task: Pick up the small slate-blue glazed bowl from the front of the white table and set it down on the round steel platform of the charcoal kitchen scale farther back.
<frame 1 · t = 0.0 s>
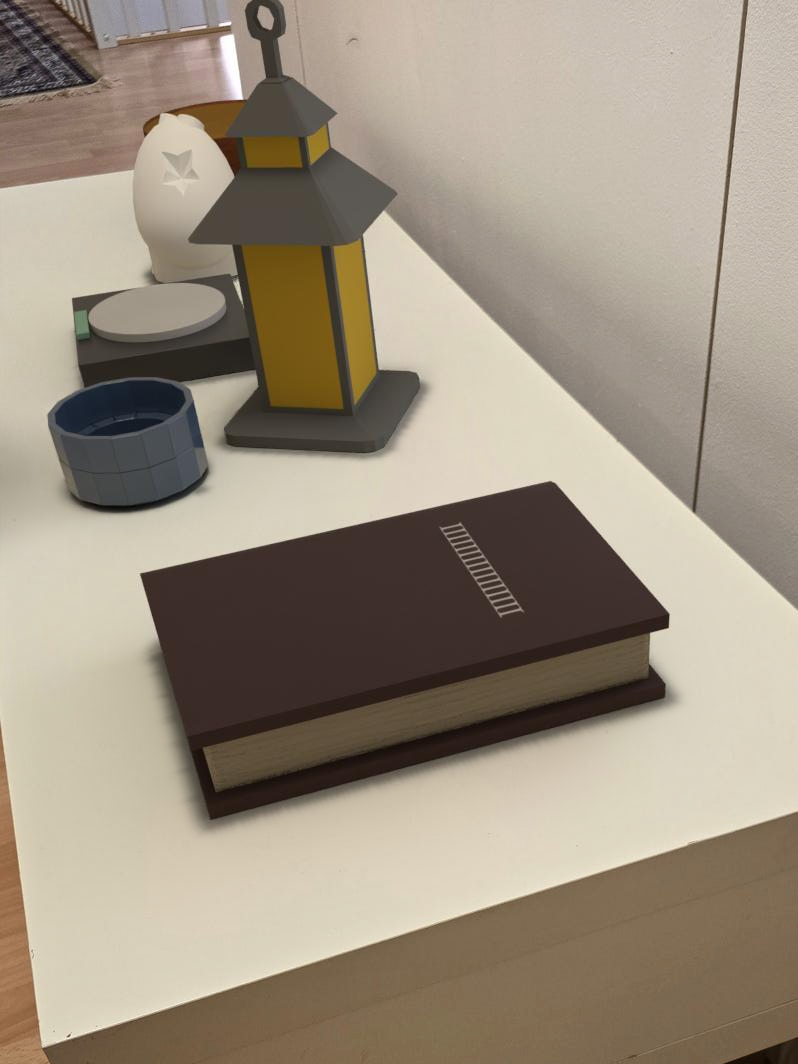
book: (399, 669, 78), on the table
lantern: (325, 414, 106), on the table
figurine: (202, 276, 134), on the table
glazed bowl: (139, 478, 99), on the table
scale: (166, 347, 119), on the table
bowl: (235, 213, 150), on the table
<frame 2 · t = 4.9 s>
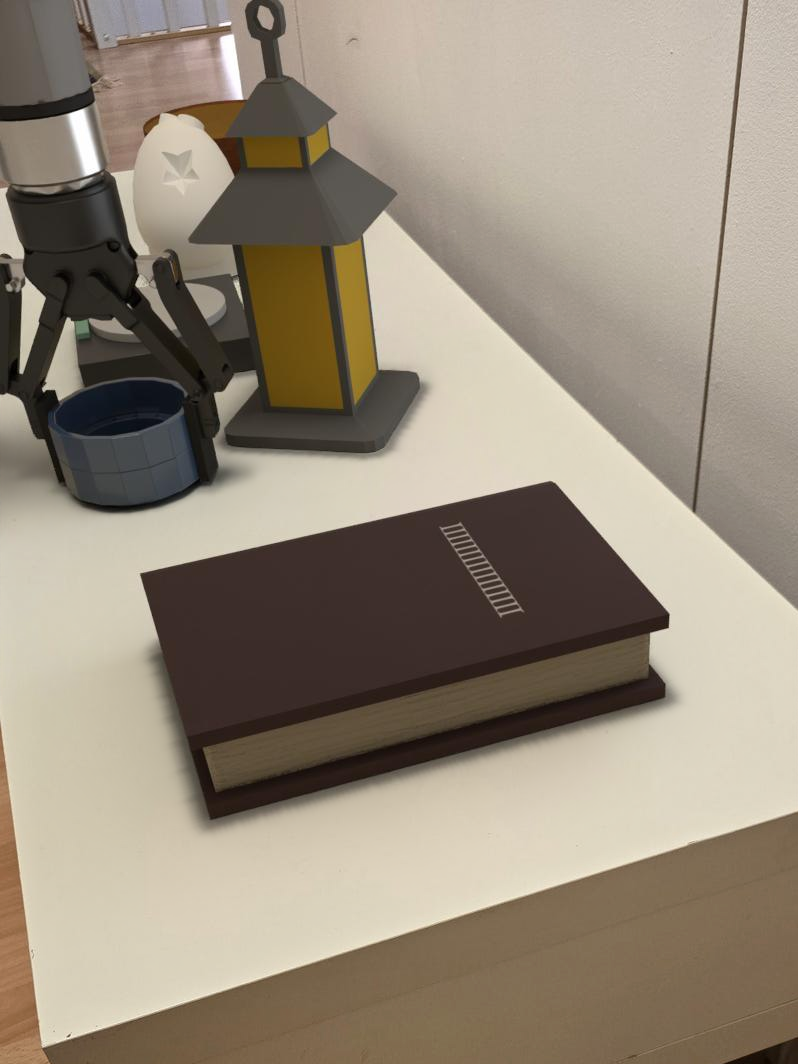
hand: (138, 474, 99), 0 cm above the table, tool pointing down, fingers closed on glazed bowl, 11 cm apart
glazed bowl: (139, 478, 99), on the table, touching gripper
everything else where it was.
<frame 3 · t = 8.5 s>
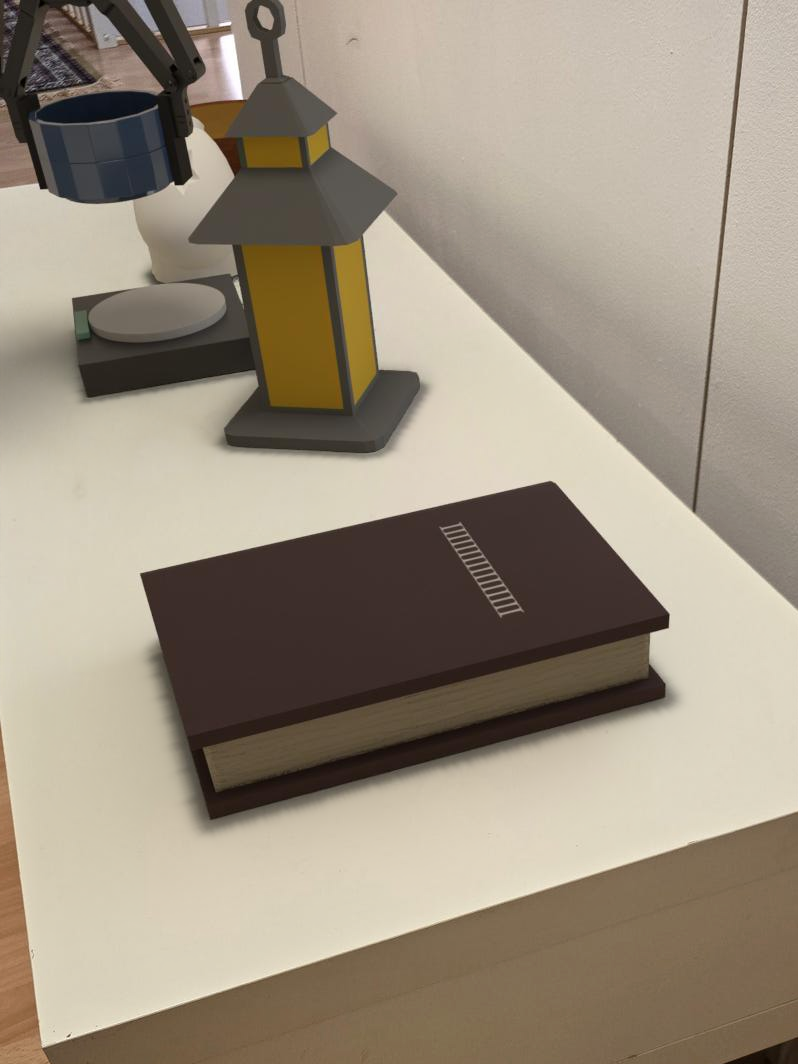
hand: (116, 182, 104), 16 cm above the table, tool pointing down, fingers closed on glazed bowl, 11 cm apart
glazed bowl: (117, 187, 104), point 16 cm above the table, touching gripper
everything else where it was.
when the fingers open (4 cm above the table, at t = 12.4 s): glazed bowl stays where it is, resting on scale.
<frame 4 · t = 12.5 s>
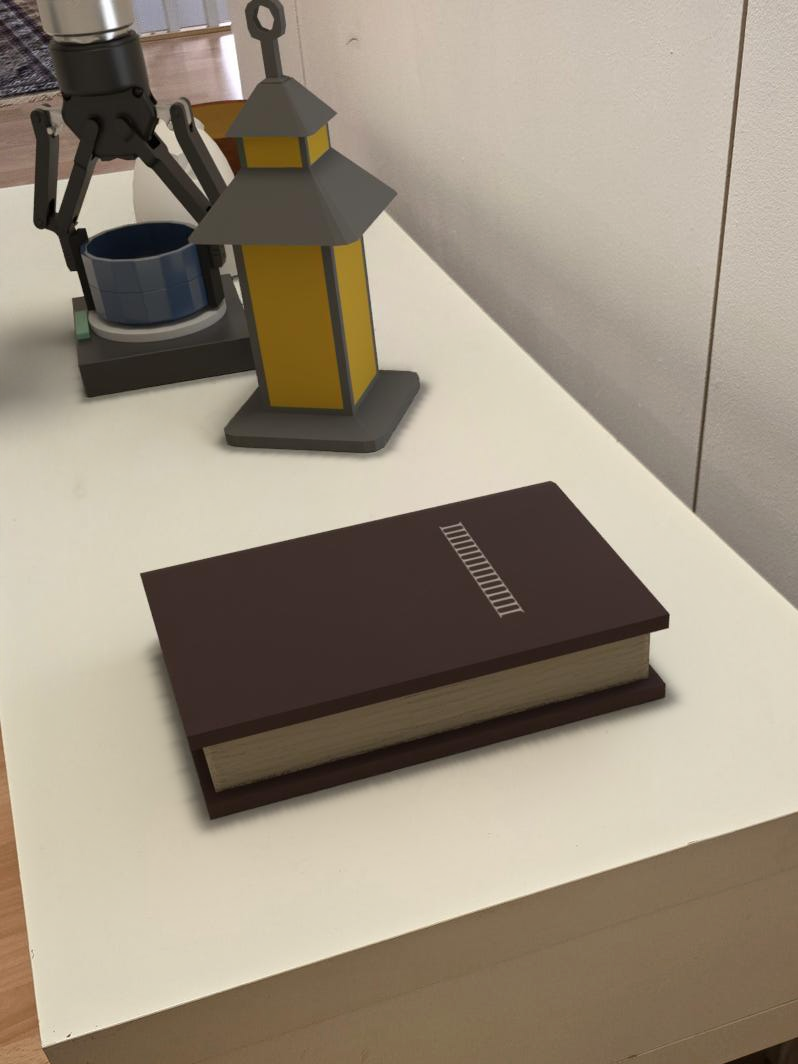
hand: (156, 304, 116), 4 cm above the table, tool pointing down, fingers open, 11 cm apart
glazed bowl: (157, 307, 116), point 4 cm above the table, touching scale
everything else where it was.
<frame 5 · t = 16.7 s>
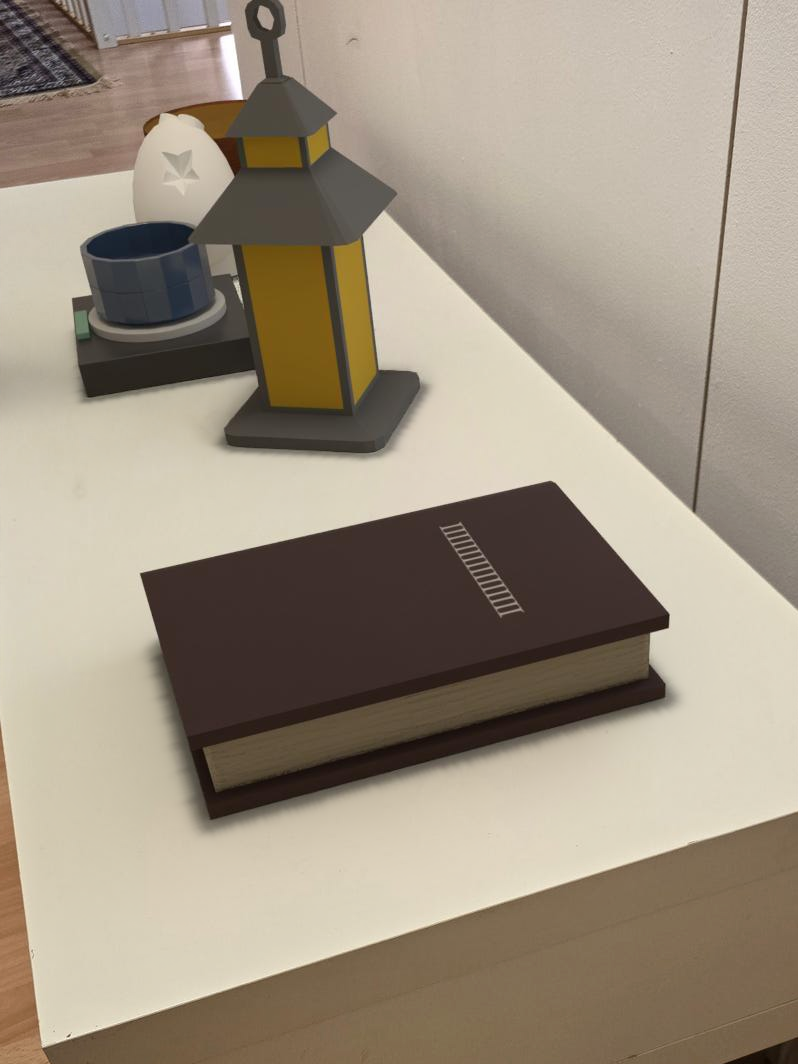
nothing on the table moved.
at the end: glazed bowl inside the target area on the scale (0.0 cm from its centre), point 3.8 cm above the scale's base; glazed bowl tilted 0°; the gripper is holding nothing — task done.
